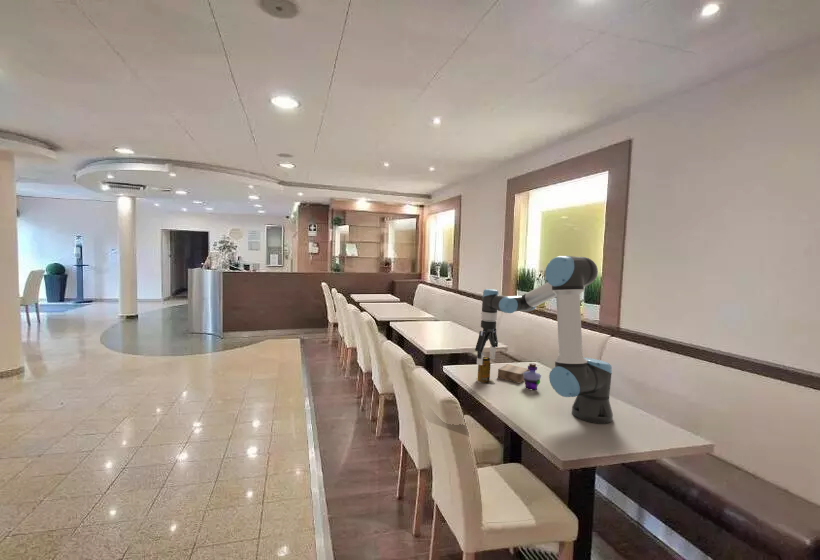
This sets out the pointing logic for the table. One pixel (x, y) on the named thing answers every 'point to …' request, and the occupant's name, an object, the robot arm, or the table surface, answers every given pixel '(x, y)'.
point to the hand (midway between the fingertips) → (485, 361)
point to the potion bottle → (531, 377)
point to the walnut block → (512, 373)
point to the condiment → (484, 372)
